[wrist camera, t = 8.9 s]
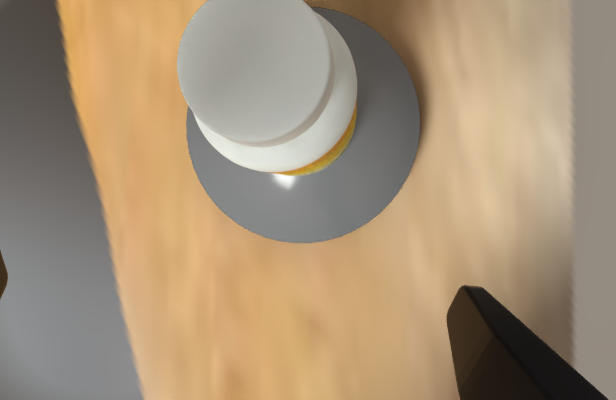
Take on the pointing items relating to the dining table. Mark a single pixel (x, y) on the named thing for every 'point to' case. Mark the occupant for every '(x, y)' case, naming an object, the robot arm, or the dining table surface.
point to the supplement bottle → (269, 84)
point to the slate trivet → (338, 176)
